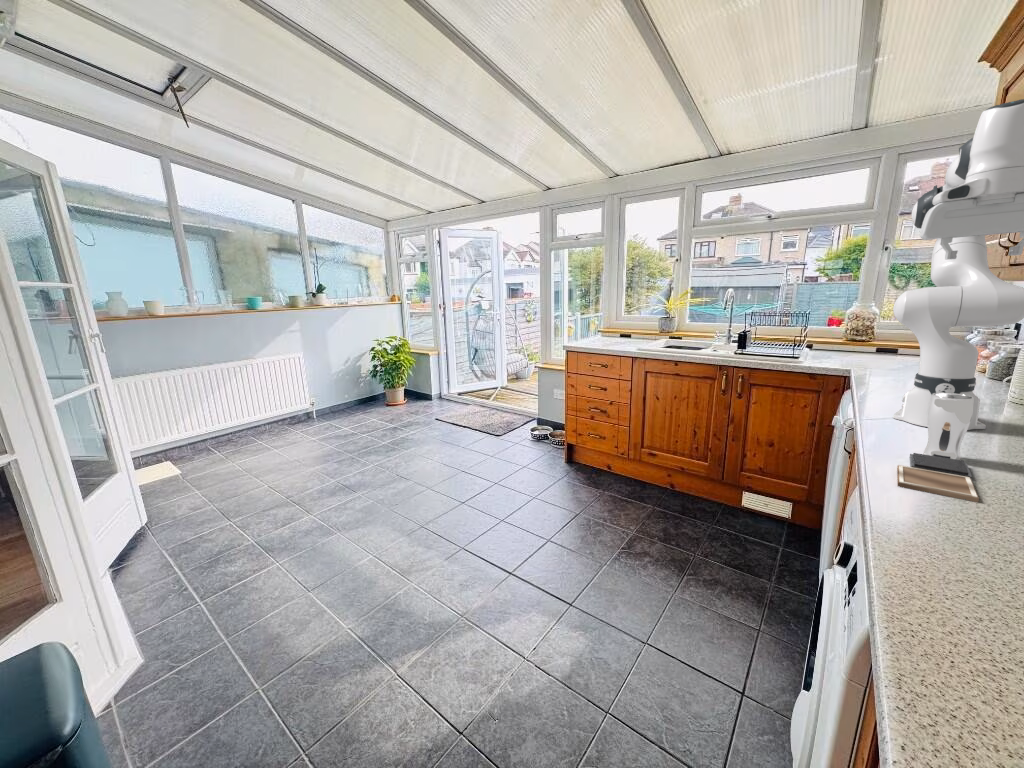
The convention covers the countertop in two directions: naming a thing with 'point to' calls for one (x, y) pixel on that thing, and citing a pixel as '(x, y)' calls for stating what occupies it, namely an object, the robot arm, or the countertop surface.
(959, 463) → the ink pad
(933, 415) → the beer glass
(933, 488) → the board
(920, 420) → the robot arm
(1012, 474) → the countertop surface
